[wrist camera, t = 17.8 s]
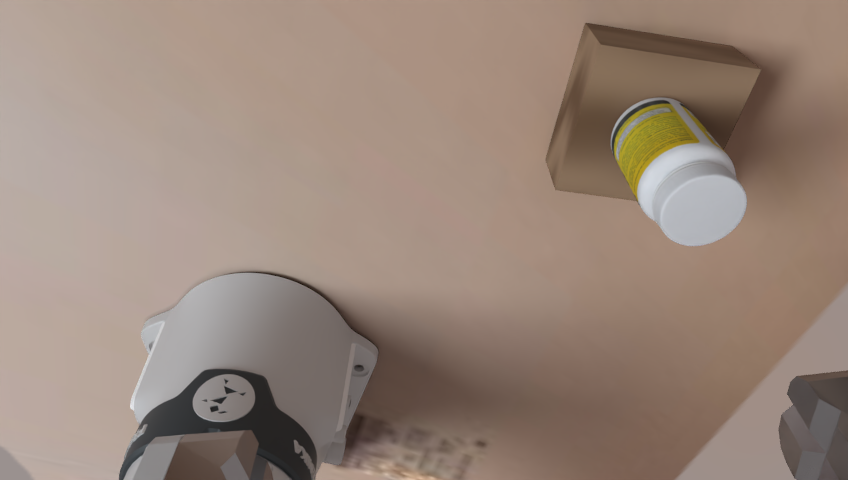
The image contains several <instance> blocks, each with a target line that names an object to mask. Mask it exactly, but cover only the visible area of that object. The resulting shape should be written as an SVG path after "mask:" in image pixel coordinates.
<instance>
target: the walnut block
mask: <svg viewBox="0 0 848 480" xmlns="http://www.w3.org/2000/svg"><path fill="white" fill-rule="evenodd" d="M760 71H761V69H760V68H759V67H758V66H756V65H755V64H754V63H753V62H751V61H750V60H749V59H748V58H746V57H745V56H744V55H742V54H741V53H740V52H739V51H737V50H736V49H735V48H734V47H732V46H728V45H722V44H715V43H709V42H703V41H696V40H690V39H684V38H677V37H671V36H665V35H658V34H652V33H646V32H639V31H633V30H627V29H620V28H614V27H608V26H601V25H595V24H589V23H585V26H584V29H583V33H582V36H581V39H580V43H579V46H578V50H577V53H576V57H575V60H574V63H573V67H572V70H571V74H570V77H569V81H568V84H567V87H566V91H565V94H564V98H563V101H562V105H561V108H560V111H559V115H558V118H557V122H556V125H555V129H554V132H553V135H552V139H551V142H550V146H549V149H548V153H547V156H546V159H545V160H546V163H547V166H548V169H549V172H550V175H551V178H552V181H553V184H554V187H555V190H560V191H567V192H574V193H582V194H589V195H596V196H604V197H611V198H618V199H626V200H633V201H637V200H636V198H635V196H634V194H633V192H632V190H631V188H630V186H629V185H628V183H627V181H626V179H625V177H624V175H623V173H622V171H621V169H620V167H619V165H618V163H617V162H616V160H615V158H614V155H613V153H612V149H611V135H612V131H613V128H614V126H615V124H616V122H617V120H618V119H619V118H620V116H621V115H622V114H623V113H624V112H625V111H626V110H627V109H628V108H630V107H631V106H633V105H634V104H636V103H638V102H640V101H643V100H646V99H650V98H657V97H663V98H670V99H674V100H677V101H679V102H681V103H682V104H684V105H685V106H686V107H687V108H688V109H689V110H690V111H691V112H692V113H693V115H694V116H695V117H696V118H697V119H698V120H699V122H700V123H701V124H702V125H703V126H704V127H705V129H706V130H707V131H708V132H709V133H710V135H711V136H712V137H713V138H714V139H715V141H716V142H717V143H718V144H719V145H720V146H721V148H722V149H723V150H724V148H725V146H726V144H727V142H728V140H729V137H730V135H731V133H732V131H733V129H734V127H735V125H736V123H737V120H738V118H739V116H740V114H741V112H742V110H743V108H744V105H745V103H746V101H747V99H748V97H749V95H750V93H751V91H752V88H753V86H754V84H755V82H756V80H757V78H758V76H759V74H760Z"/></svg>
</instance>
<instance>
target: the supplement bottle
mask: <svg viewBox="0 0 848 480" xmlns="http://www.w3.org/2000/svg"><path fill="white" fill-rule="evenodd" d="M611 149H612V153H613V155H614V158H615V160H616V162H617V163H618V165H619V167H620V169H621V171H622V173H623V175H624V177H625V179H626V181H627V183H628V185H629V186H630V188H631V190H632V192H633V194H634V196H635V198H636V200H637V202H638V204H639V205H640V207H641V208H642V210H643V211H644V212H645V214H646V215H647V216H648V217H649V218H651V219H652V220H654V221H656V222H657V224H658V225H659V226H660V228H661V229H662V231H663V232H664V233H665V235H666V236H667V237H668V238H670V239H671V240H672V241H674V242H676V243H678V244H681V245H686V246H701V245H706V244H709V243H712V242H715V241H717V240H719V239H721V238H723V237H725V236H726V235H728V234H729V233H730V232H731V231H732V230H734V229H735V227H736V226H737V225H738V224H739V222H740V221H741V220H742V218H743V216H744V213H745V210H746V206H747V197H746V193H745V190H744V189H743V187H742V185H741V184H740V183H739V181H738V180H737V179H736V172H735V168H734V165H733V163H732V161H731V159H730V158H729V156H728V155H727V153H726V152H725V151H724V150H723V149H722V148H721V146H720V145H719V144H718V143H717V142H716V141H715V139H714V138H713V137H712V136H711V135H710V133H709V132H708V131H707V130H706V129H705V127H704V126H703V125H702V124H701V123H700V122H699V120H698V119H697V118H696V117H695V116H694V115H693V113H692V112H691V111H690V110H689V109H688V108H687V107H686V106H685V105H684V104H682V103H681V102H679V101H677V100H674V99H670V98H663V97H657V98H650V99H646V100H643V101H640V102H638V103H636V104H634V105H633V106H631V107H630V108H628V109H627V110H626V111H625V112H624V113H623V114H622V115H621V116H620V118H619V119H618V120H617V122H616V124H615V126H614V128H613V131H612V135H611Z"/></svg>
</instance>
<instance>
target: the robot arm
mask: <svg viewBox="0 0 848 480" xmlns="http://www.w3.org/2000/svg"><path fill="white" fill-rule="evenodd" d="M141 337H142V340H143V342H144V345H145V347H146V349H147V352H148V354H149V356H148V359H147V361H146V364H145V366H144V368H143V371H142V373H141V376H140V378H139V381H138V383H137V386H136V388H135V391H134V393H133V396H132V399H131V405H130V407H131V409H132V410H134V413H135V417H136V420H137V421H138V423H139V425H140V426H139V428H138V430H137V432H136V433H135V435H134V436H133V438H132V440H131V441H130V443H129V446H128V448H127V450H126V453H125V457H124V462H123V465H122V467H121V470H120V474H119V480H315V477H316V474H317V472H318V470H319V468H320V466H321V464H322V462H324V463H328V464H333V465H340V464H341V462H342V459H343V455H344V451H345V445H346V438H345V436H346V431H347V428H348V426H349V424H350V422H351V419H352V417H353V415H354V413H355V410H356V408H357V406H358V404H359V401H360V399H361V397H362V395H363V392H364V390H365V388H366V386H367V383H368V381H369V379H370V377H371V374H372V372H373V370H374V368H375V365H376V362H377V358H378V353H379V352H378V349H377V347H376V346H375V345H374V344H373V343H371V342H370V341H368V340H367V339H366V338H364V337H362V336H361V335H359V334H357V333H356V332H354V331H353V330H352V329H351V328H350V327H349V326H348V325H347V324H346V322H345V321H344V319H343V318H342V317H341V315H340V314H339V313H338V311H337V310H336V309H335V308H334V307H333V306H332V305H331V304H330V303H329V302H328V301H327V300H325V299H324V298H323V297H322V296H320V295H319V294H317V293H316V292H314V291H313V290H311V289H309V288H307V287H305V286H303V285H301V284H299V283H297V282H294V281H291V280H288V279H285V278H282V277H278V276H273V275H268V274H260V273H236V274H228V275H223V276H219V277H216V278H213V279H210V280H208V281H205V282H203V283H201V284H200V285H198V286H196V287H195V288H193V289H192V290H191V291H189V292H188V293H187V294H186V295H185V296H184V297H183V298H182V300H181V301H180V302H179V303H178V304H177V305H176V306H175V307H174V308H173V309H171V310H169V311H167V312H164V313H161V314H159V315H156V316H154V317H152V318H150V319H149V320H147V321H146V322H145V324H144V327H143V329H142V332H141ZM360 365H361V366H360ZM787 395H788V396H789V398H790V400H791V401H792V403H793V405H792V406H791V407H790V408H789V409H788V410H786V411H785V412H784V413H783V414H782V415H781V421H780V425H779V436H780V444H781V449H782V452H783V455H784V457H785V460H786V463H787V465H788V467H789V468H790V471H791V472H792V474H793V476H794V478H795V479H797V480H848V371H839V372H831V373H821V374H813V375H803V376H796V377H795V378H794V379H793V380H792V381H791V382H790V386H789V389H788V392H787Z"/></svg>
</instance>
